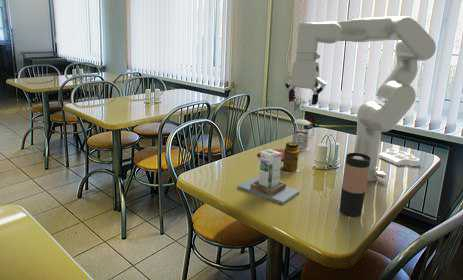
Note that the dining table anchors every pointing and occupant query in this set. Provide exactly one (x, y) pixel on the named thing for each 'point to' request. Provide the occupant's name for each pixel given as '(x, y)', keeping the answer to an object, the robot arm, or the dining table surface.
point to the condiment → (290, 158)
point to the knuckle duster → (399, 157)
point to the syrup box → (269, 169)
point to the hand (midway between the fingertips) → (302, 102)
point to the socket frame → (266, 190)
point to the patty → (277, 151)
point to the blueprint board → (279, 197)
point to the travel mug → (354, 184)
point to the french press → (304, 139)
